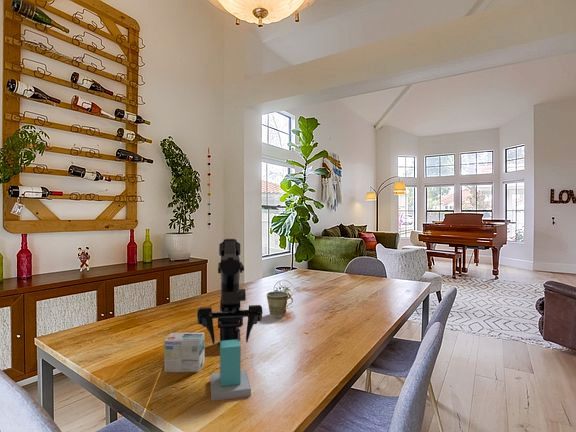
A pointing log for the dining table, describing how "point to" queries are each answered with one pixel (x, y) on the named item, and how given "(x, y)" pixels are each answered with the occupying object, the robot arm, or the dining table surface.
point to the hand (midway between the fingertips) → (230, 342)
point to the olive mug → (277, 303)
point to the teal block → (230, 362)
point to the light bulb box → (184, 352)
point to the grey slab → (229, 388)
